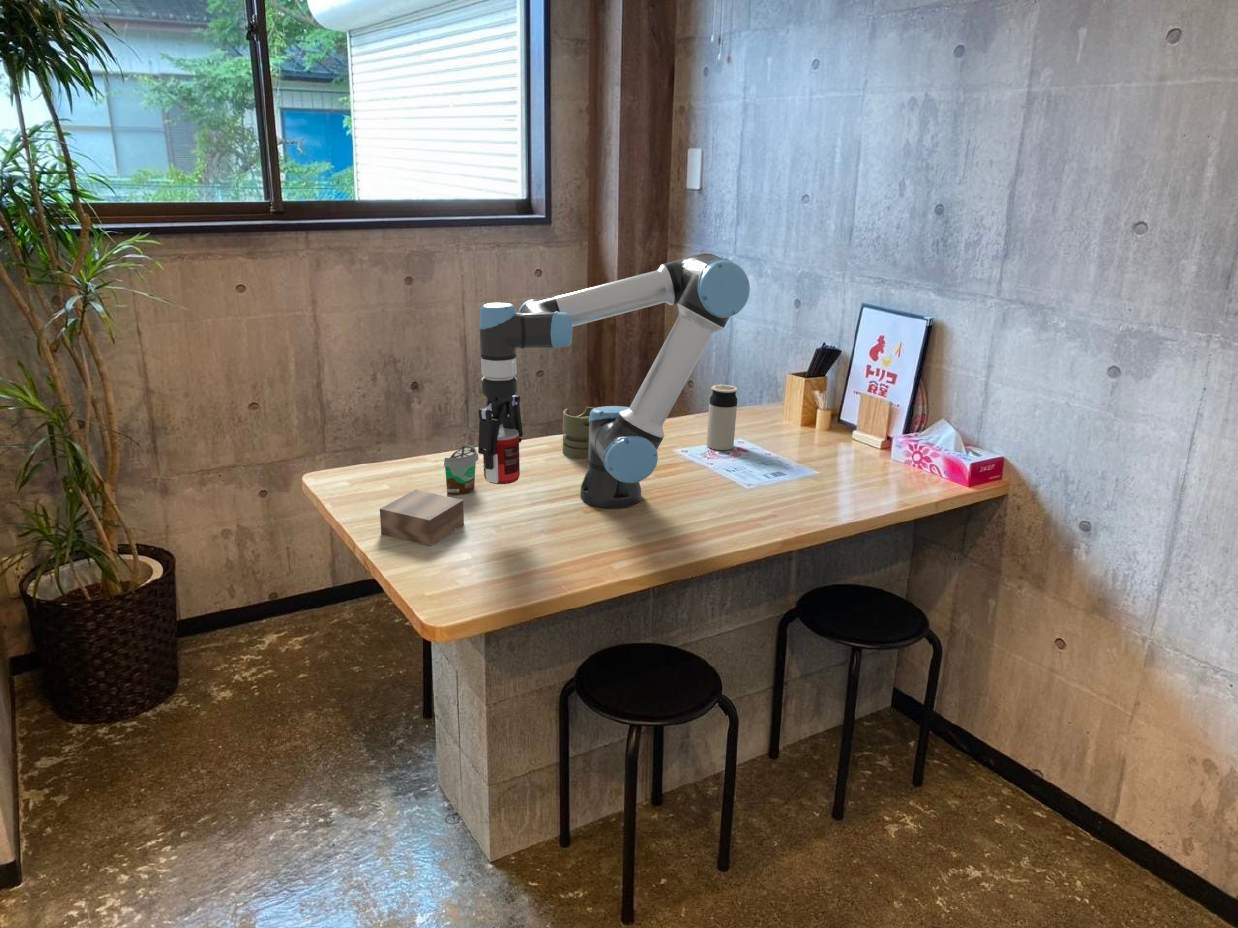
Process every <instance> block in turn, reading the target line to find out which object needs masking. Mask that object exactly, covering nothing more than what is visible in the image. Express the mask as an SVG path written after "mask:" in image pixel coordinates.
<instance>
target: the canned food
mask: <svg viewBox="0 0 1238 928" xmlns="http://www.w3.org/2000/svg"><path fill="white" fill-rule="evenodd" d="M519 438H520V437H519V433H518V430H516V429H508V428H504V427H503V426H500V428H499V434H498V437H497V445H496V451H495V454H498V483H492V482H488V483H490V484H493V485H509V484H512V483H515V482H518V480H519V478H520V476H521V475H520V472H521V471H520V470H521V469H520V468H521V467H520V443H519ZM482 455H483V456H482V457H483V459H482V460H483V476H484V479H485V480H486V468H485V455H484V454H482Z"/></svg>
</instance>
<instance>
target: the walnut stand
mask: <svg viewBox="0 0 1238 928" xmlns="http://www.w3.org/2000/svg"><path fill="white" fill-rule="evenodd" d="M464 513H465V511H464V499H460V498H456V497H452V496H451V497H450V496H448V495H447V496H446V495H442V494H437V493H433V492H427V491H423V490H418V489H414V490H413V491H410V492H408V493H407V494H405V495H402V496H401V497H400V498H398V499H395V500H393V501H391V502H390V503H388V504H386V505H385V506H383V507H380V508H379V522H380V534H381V535H384V536H389V537H392V538H395V539H399V540H400V539H401V540H405V541H408V542H412V543H417V544H422V545H426V546H429V547H431V546H433V545H434V544H436V543H438V542H439V541H440V540H442V539H444V538H445V537H446V536H449V535H450V534H451V533H452V532H455V531H456V530H458V529H459V528H461V527H462V526H464V525H465V515H464Z"/></svg>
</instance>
